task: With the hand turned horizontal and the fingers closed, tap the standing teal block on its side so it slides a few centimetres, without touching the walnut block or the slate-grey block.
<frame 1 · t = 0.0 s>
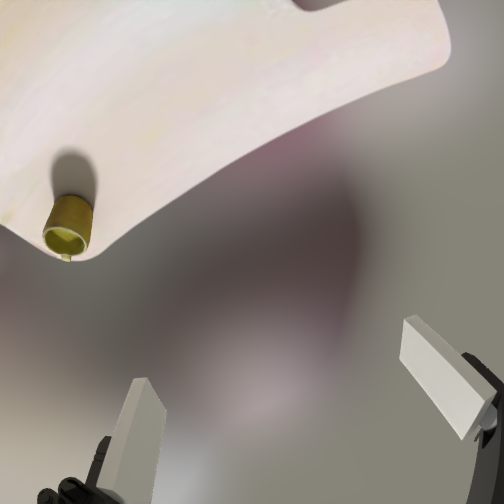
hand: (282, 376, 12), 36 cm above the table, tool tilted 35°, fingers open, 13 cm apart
mug: (73, 215, 44), on the table
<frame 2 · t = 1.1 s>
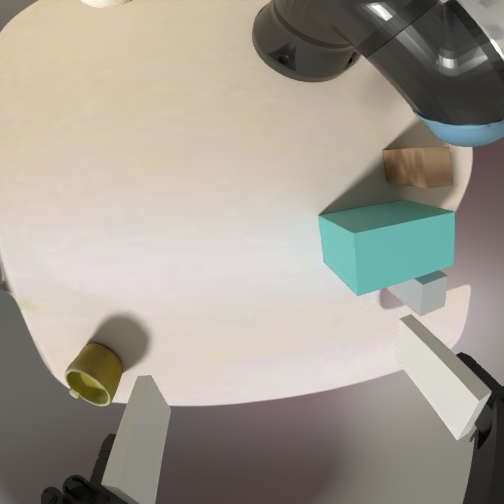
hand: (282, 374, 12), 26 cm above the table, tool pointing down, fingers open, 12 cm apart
teal block: (366, 229, 38), on the table
walnut block: (397, 165, 36), on the table
grey block: (399, 272, 41), on the table
mug: (98, 363, 42), on the table
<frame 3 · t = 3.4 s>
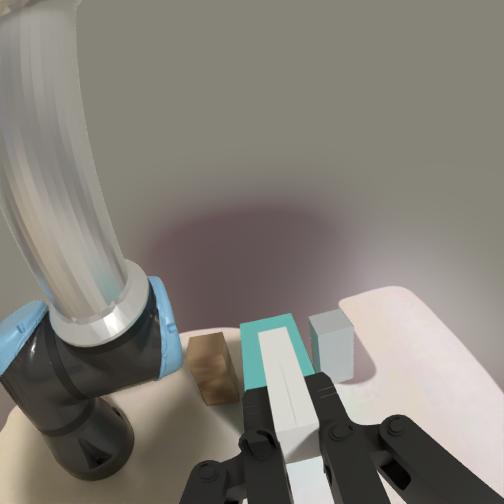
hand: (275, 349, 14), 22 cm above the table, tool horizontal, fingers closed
teal block: (286, 414, 32), on the table
walnut block: (223, 392, 39), on the table
grey block: (332, 372, 38), on the table
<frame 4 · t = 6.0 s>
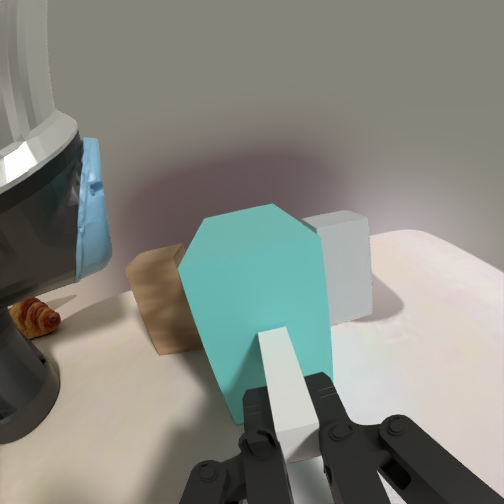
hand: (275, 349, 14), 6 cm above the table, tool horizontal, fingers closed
teal block: (270, 354, 23), on the table, touching gripper
croissant: (33, 331, 36), on the table
walnut block: (184, 339, 29), on the table
grey block: (341, 309, 28), on the table
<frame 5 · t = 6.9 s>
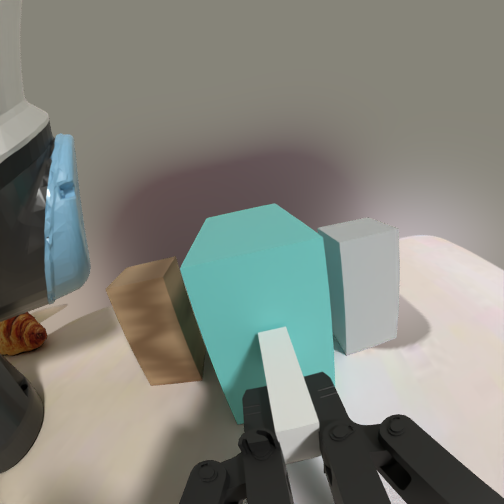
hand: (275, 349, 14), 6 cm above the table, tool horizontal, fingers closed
teal block: (272, 354, 23), on the table
croissant: (21, 345, 32), on the table
walnut block: (179, 366, 24), on the table
grey block: (361, 332, 23), on the table
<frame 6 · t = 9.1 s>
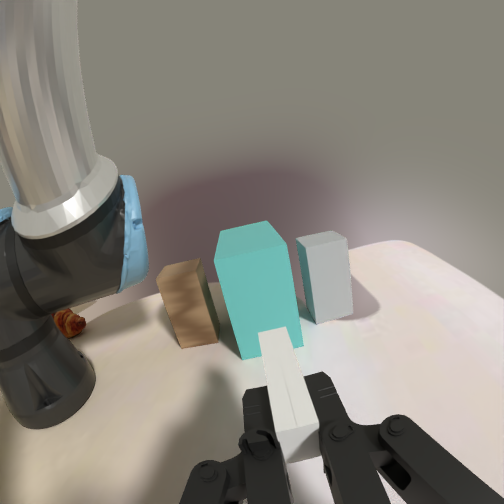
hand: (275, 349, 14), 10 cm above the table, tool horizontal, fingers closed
teal block: (265, 321, 36), on the table
croissant: (58, 334, 43), on the table
walnut block: (201, 335, 36), on the table
grey block: (329, 310, 35), on the table
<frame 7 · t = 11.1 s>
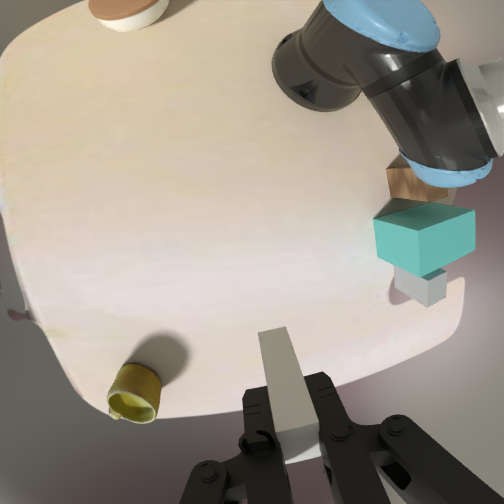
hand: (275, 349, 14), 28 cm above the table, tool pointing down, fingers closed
lidded bowl: (139, 16, 29), on the table
teal block: (406, 228, 45), on the table
walnut block: (398, 180, 42), on the table
grey block: (404, 272, 47), on the table
mug: (134, 382, 45), on the table
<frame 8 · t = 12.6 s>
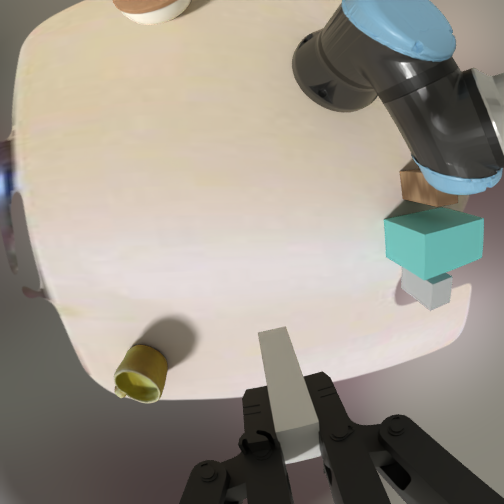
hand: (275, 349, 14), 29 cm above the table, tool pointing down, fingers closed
lidded bowl: (162, 9, 30), on the table
teal block: (416, 230, 45), on the table
walnut block: (411, 183, 42), on the table
grey block: (411, 273, 47), on the table
mug: (142, 363, 48), on the table
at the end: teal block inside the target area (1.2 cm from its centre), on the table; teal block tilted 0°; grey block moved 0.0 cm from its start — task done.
